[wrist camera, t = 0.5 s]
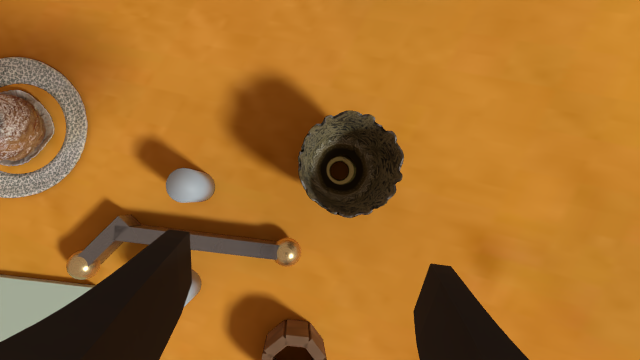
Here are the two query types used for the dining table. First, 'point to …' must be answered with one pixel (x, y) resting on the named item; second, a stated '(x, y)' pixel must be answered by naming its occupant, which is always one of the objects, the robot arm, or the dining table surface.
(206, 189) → the grey rounded cylinder
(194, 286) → the post inner
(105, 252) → the rail
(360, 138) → the cup
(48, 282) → the pad
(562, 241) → the dining table surface
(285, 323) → the napkin ring
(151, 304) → the robot arm
